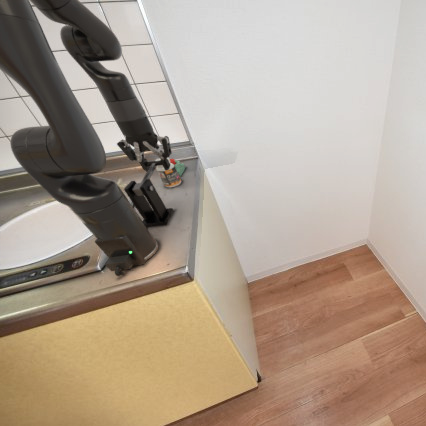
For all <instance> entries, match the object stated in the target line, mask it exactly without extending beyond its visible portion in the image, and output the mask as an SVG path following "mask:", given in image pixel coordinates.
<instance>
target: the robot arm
mask: <svg viewBox="0 0 426 426" xmlns="http://www.w3.org/2000/svg"><path fill="white" fill-rule="evenodd" d="M31 4H33V6H34V7H35V8H36V10H38V11H39V12H40V13H41V14H42V15H43V16H44V17H46V19H48V20H50V21H52V22H54V23H57V24H62V25H63V26H62V27H61V28H60V32H59V35H60V40H61V43H62V45H63V47H64V49H65V50H66V51H67V53H68V54H69V55H70V56H71V58H73V60H74V61H75V62H76V63H77V65H78V66H80V67H81V69H82V70H83V71H84V72H85V74H86V75H88V77H89V78H90V79H91V80H92V81H93V83H94V84H95V85H96V87H97V89H98V91H99V92H100V93H101V95H102V97H103V99H104V100H105V103H106V106H107V107H108V111H109V112H110V114H111V116H112V118H113V119H114V120H115V123H116V124H117V126H118V128H119V130H120V132H121V133H122V135H123V136H124V137H125V139H121V140H119V141H118V142H117V143H116V146H117V147H118V148H119V149H121V151H122V152H123V153H124V155H125V156H126V157H127V158H128V159H129V160H130V161H132V162H134V161H137V162H138V163H139V165H140V166H141V168H142V170H143V171H145V172H146V173H147V171H148V170H149V168H150V166H146V162H149V161H148V159H147V158H146V156H145V152H151V153H152V154H153V155H155V156H157V158H160V159H161V160H160V161H161V163H162V165H163V167H164V169H165V170H169V168H170V163H169V161H168V159H167V158H170V156H171V155H172V154H173V152H172V147H171V143H170V138H169V136H168V135H165V136H159V135H158V134H157V133H155V131H154V128H153V125H152V124H151V121H150V118H149V117H148V115H147V113H146V110H145V109H144V107H143V105H142V103H141V102H140V100H139V98H138V96H137V94H136V92H135V91H134V87H133V86H132V84H131V82H130V80H129V78H128V76H126V74H125V73H123V72H120V71H115V70H110V69H108V68H106V67H105V66H104V65H103V64H102V63H101V62H112V61H117V60H119V59H121V57H122V55H123V48H122V45H121V43H120V41H119V39H118V37H117V36H116V34H115V33H114V32H113V31H112V29H111V28H110V27H109V26H108V25H106V23H105V22H103V21H102V19H100V18H99V17H98V16H97V15H95V13H93V12H92V11H91V10H90V9H89V8H88V7H87V6H86V5H85V4H83V2H81V1H80V0H0V71H1V72H2V73H4V74H5V75H6V76H8V77H9V78H10V79H11V80H13V81H14V82H15V83H17V85H19V87H21V88H22V89H23V90H24V91H25V92H26V94H28V96H29V97H30V98H31V99H32V100H33V102H34V103H35V104H36V107H37V109H39V111H40V112H41V114H42V116H43V118H44V119H45V121H46V123H47V125H40V126H37V125H36V126H28V127H23V128H20V129H18V130H16V131H15V132H14V133H12V135H11V137H10V141H9V142H10V149H11V152H12V154H13V156H14V158H15V160H16V161H17V162H18V164H19V165H20V166H21V167H22V169H23V170H24V171H25V172H26V173H27V174H28V175H29V176H30V177H31V178H32V179H33V180H34V181H35V182H36V183H37V184H38V185H39V186H40V187H41V188H42V189H43V190H45V191H46V193H48V195H50V196H51V197H52V198H53V199H54V200H55V201H56V202H58V203H60V204H62V205H64V206H65V207H67V208H69V209H70V211H72V213H73V214H74V215H75V216H76V217H77V218H78V219H79V221H80V222H81V223H82V224H83V225H84V226H85V227H86V228H87V229H88V231H89V232H90V233H91V234H92V235H93V236H94V237H95V238H96V239H95V240H94V243H95V244H96V245H97V247H98V248H99V249H100V250H101V251H102V252H103V253H104V254H105V255H106V256H107V258H108V259H107V260H106V262H105V263H104V265H105V267H107V268H108V270H109V271H110V272H114V275H115V276H116V277H121V276H123V275H124V274H125V273H124V271H123V270H131V269H132V268H133V267H135V266H142V265H145V263H146V262H147V261H148V260H150V259H151V258H152V257H153V256H154V255H155V254H156V253H157V252H158V250H159V243H158V241H157V240H156V239H155V238H154V236H153V234H152V233H151V232H150V231H149V229H148V227H146V226H145V224H144V223H143V220H142V217H140V215H139V214H138V212H137V211H136V209H135V207H133V205H132V203H131V202H130V200H129V199H128V198H127V196H126V195H125V192H124V191H123V190H122V189H121V188H120V186H119V185H118V184H117V183H116V182H115V181H114V180H112V179H109V178H104V177H101V176H96V175H93V174H98V173H100V172H102V171H103V170H105V169H104V168H105V167H106V164H107V155H106V154H107V153H106V151H105V148H104V145H103V142H102V141H101V139H100V137H99V135H98V133H97V131H96V129H95V128H94V126H93V124H92V123H91V121H90V119H89V118H88V116H87V114H86V112H85V111H84V109H83V107H82V105H81V104H80V102H79V100H78V99H77V97H76V95H75V93H74V92H73V90H72V88H71V86H70V84H69V83H68V80H67V78H66V76H65V75H64V72H63V71H62V68H61V66H60V65H59V62H58V61H57V58H56V57H55V54H54V52H53V50H52V48H51V46H50V44H49V41H48V39H47V36H46V35H45V32H44V30H43V27H42V25H41V23H40V22H39V19H38V17H37V15H36V12H35V11H34V9H33V6H32V5H31ZM158 142H159V143H160V144H158ZM160 145H162V146H160ZM132 147H133V148H134V149H133V148H132Z"/></svg>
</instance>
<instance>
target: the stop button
mask: <svg viewBox="0 0 426 426" xmlns="http://www.w3.org/2000/svg"><path fill="white" fill-rule="evenodd" d="M169 159H170V163H172V164H174V165H175V164H176V162H175V159H174V158H169Z"/></svg>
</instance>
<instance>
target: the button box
mask: <svg viewBox="0 0 426 426" xmlns="http://www.w3.org/2000/svg"><path fill="white" fill-rule="evenodd" d="M174 160H175V159H174ZM175 162H176V164H175V165H174V166H175V168H176V170H177V172H178V175H179V177H182V175H183V174H184V172H185V170H186V166H185V163H184V162H183V163H181V161H180V160H177V159H176V160H175Z"/></svg>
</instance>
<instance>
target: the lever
mask: <svg viewBox="0 0 426 426" xmlns="http://www.w3.org/2000/svg"><path fill="white" fill-rule="evenodd" d="M158 165H162V163H161V161H155V160H153V161H148V162H146V166H150V168H149V170H148V171H147V172H146V173H145V175H144V177H143V178H142V180H141V182H138V183H137V182H136V184H135V186H134V187H133V189H132V190H133V192H134V193H135V194H136V196H144V194H143V193H142V191H141V189H140V187H141V185H142V184H143V183H144V182H145V180H146V179H150V180H151V178H152V176H153V174H154V172H155V171H156V170H157V169H156V168H157V166H158Z"/></svg>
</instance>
